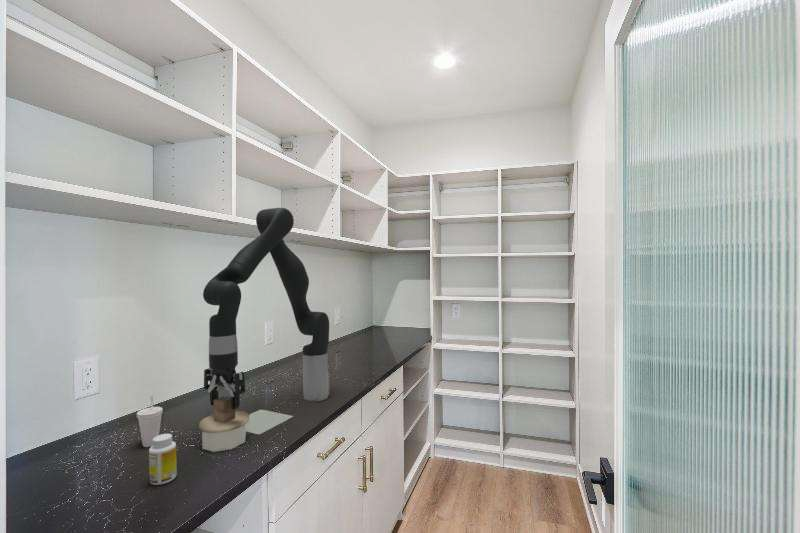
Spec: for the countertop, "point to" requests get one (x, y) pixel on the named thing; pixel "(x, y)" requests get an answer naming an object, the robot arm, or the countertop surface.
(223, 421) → the lid
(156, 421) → the smoothie
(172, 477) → the supplement bottle
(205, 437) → the bowl
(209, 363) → the robot arm
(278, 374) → the countertop surface
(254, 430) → the mat
